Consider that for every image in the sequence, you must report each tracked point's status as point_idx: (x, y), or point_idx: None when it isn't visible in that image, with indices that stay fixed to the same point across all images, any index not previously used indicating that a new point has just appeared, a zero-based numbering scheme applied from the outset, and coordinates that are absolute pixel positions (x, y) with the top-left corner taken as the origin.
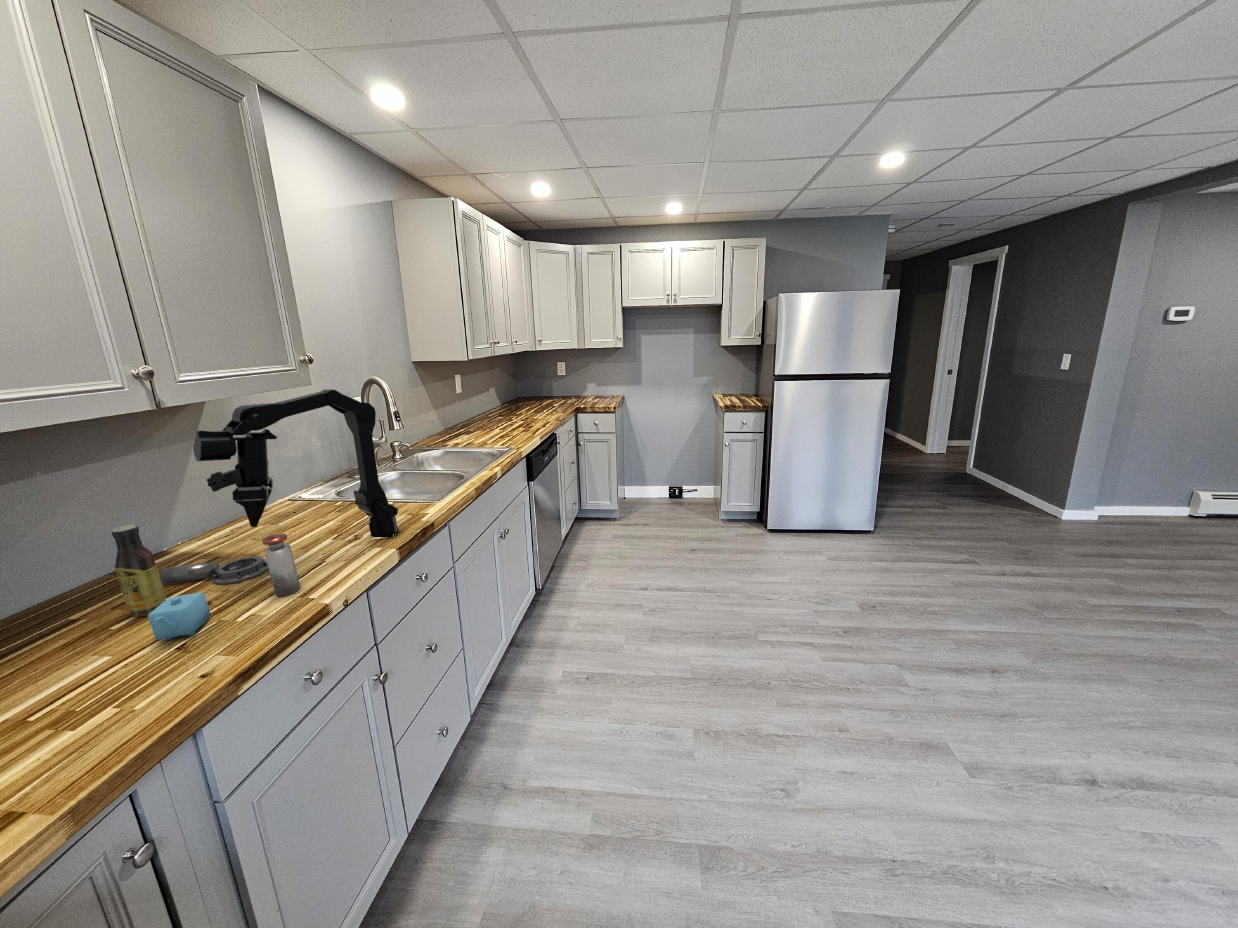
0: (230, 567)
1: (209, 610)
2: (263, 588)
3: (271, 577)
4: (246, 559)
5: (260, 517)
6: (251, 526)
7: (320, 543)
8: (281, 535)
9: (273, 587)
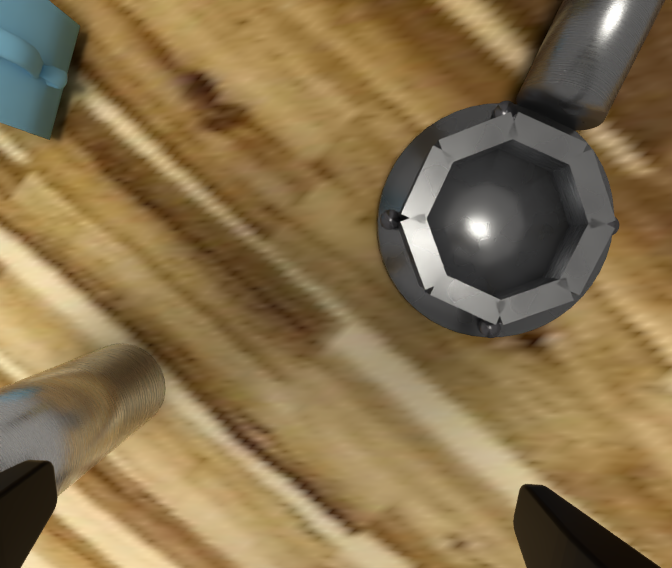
0: (558, 176)
1: (32, 133)
2: (227, 304)
3: (40, 372)
4: (572, 247)
5: (517, 535)
6: (22, 466)
7: (629, 543)
8: None
9: (90, 353)
